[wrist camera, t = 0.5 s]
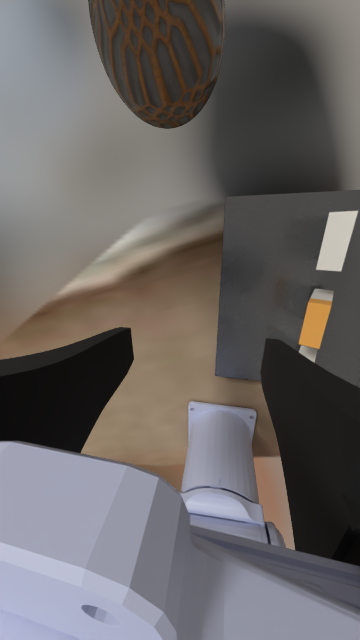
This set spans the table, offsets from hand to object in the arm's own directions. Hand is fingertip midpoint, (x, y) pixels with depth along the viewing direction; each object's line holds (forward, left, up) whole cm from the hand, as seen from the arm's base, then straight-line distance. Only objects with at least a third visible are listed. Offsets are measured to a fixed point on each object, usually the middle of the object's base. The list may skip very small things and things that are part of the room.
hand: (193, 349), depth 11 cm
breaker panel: (0, -9, -10) cm, 14 cm away
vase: (+16, +3, -10) cm, 19 cm away
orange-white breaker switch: (0, -9, -8) cm, 12 cm away
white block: (+5, -9, -8) cm, 13 cm away
